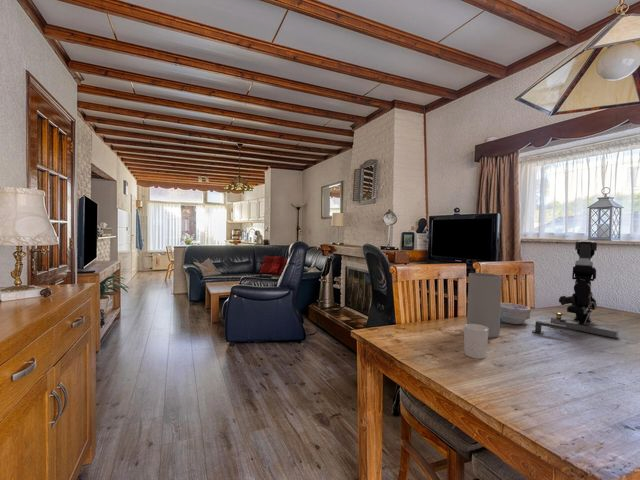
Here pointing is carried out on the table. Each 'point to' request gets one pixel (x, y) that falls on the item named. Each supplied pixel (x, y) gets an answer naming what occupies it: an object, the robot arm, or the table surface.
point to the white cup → (475, 340)
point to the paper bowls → (514, 313)
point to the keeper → (540, 324)
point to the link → (586, 327)
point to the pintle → (558, 315)
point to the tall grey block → (485, 301)
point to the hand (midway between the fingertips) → (581, 325)
